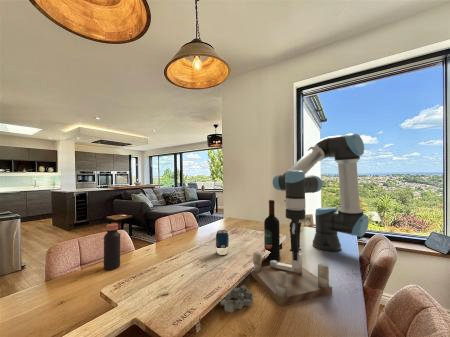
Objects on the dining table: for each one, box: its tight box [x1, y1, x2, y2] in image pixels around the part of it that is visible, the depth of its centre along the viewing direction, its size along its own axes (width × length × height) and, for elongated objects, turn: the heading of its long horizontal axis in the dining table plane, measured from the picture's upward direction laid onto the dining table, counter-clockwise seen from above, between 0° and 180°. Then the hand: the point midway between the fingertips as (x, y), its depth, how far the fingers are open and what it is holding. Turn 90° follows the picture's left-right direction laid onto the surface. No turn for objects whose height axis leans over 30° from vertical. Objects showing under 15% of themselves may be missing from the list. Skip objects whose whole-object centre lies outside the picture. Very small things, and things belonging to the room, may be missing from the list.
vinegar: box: [103, 222, 121, 271], centre depth 96 cm, size 7×7×20 cm
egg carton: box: [220, 284, 255, 313], centre depth 69 cm, size 11×8×4 cm
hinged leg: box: [269, 252, 303, 273], centre depth 87 cm, size 13×4×7 cm, turn 64°
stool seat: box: [250, 251, 333, 307], centre depth 82 cm, size 23×23×10 cm
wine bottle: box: [263, 199, 281, 263], centre depth 104 cm, size 8×8×30 cm
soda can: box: [215, 229, 230, 248], centre depth 112 cm, size 7×7×12 cm
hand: (295, 267), depth 82 cm, fingers closed
